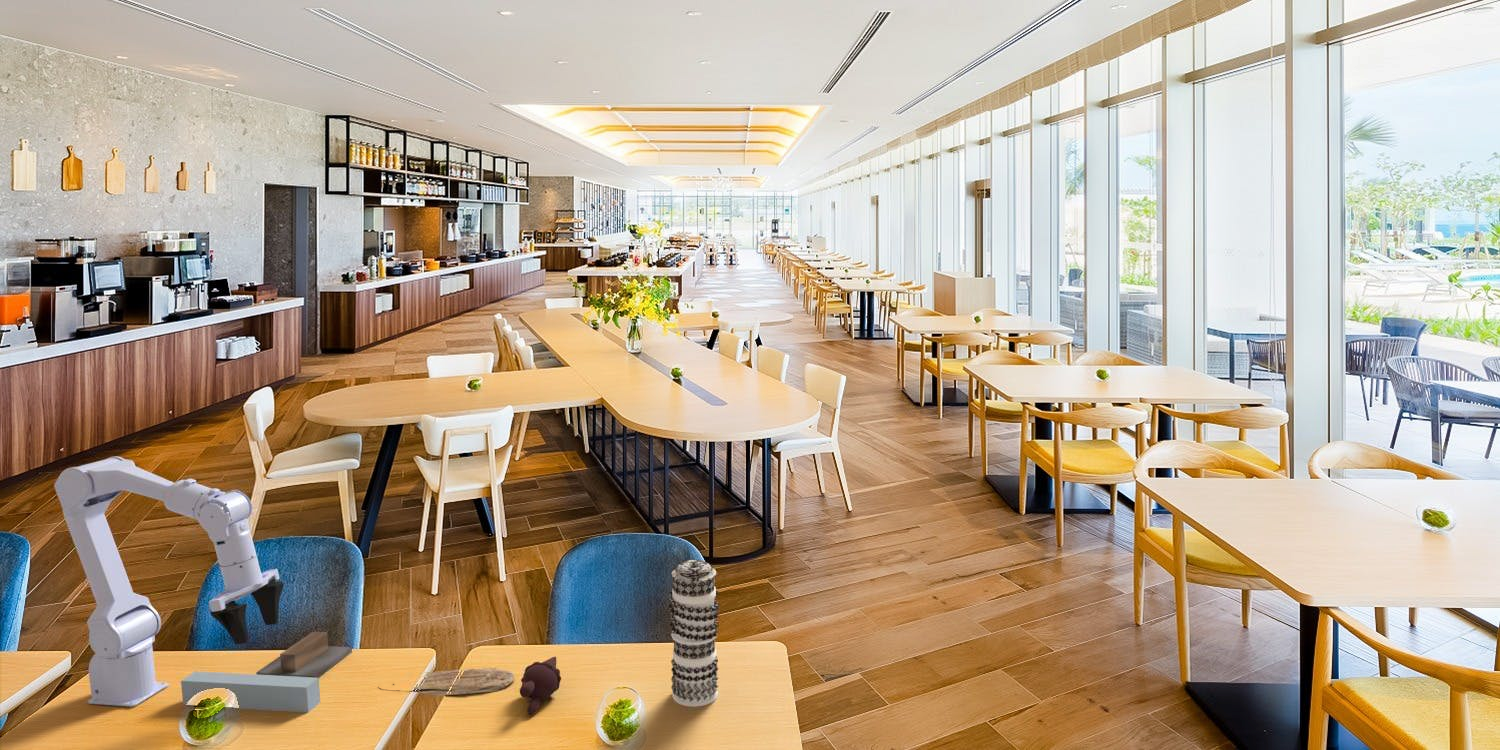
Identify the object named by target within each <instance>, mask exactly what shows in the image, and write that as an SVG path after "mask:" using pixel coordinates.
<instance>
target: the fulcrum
mask: <svg viewBox="0 0 1500 750" xmlns="http://www.w3.org/2000/svg"><path fill="white" fill-rule="evenodd" d="M328 641H329V640H328V632H326V631H312V632H310V633H308V635H306V636H304V637H303V638H302V639H300V640H298V641H297V642H296V643H294V644H292V645H291V646H289V648H286V649H285V650H284V651H282V652H281V653H280V654H279V656H278V657H277V658H275V659H274V660H272V661H271V662H269V663H268V664H266V665H265V666H264V667H262V668H261V669H259V670H258V671H257V672H256V675H275V676H294V677H313V678H319V679H320V677H321V676H323V675H325V674H326V673H327V672H328V671H330V670H331V669H332V668H333V667H335V666H336V665H338V664H339V663H340V662H342V660H344V659H345V658H346V657H348V656H349V655H351V654H352V653H353V649H352V648H353V647H349V646H334V645H329V642H328ZM329 669H330V670H329ZM325 672H326V673H325Z"/></svg>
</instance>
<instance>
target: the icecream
mask: <svg viewBox="0 0 1500 750" xmlns="http://www.w3.org/2000/svg"><path fill="white" fill-rule="evenodd" d="M523 672H524V673H523V676H522V678H521V679H520V682H521V686H520V688H519V695H520V696H521V697H522V698H526V699H530V700H529V702H528V705H527V708H526V711H527V715H528V716H529V717H531V716H534V715H535V714H536V713H537V711H538V710H539V707H540V704H541V701H544V700H547V699H549V698H550V697H551V696H552V695H553V694H554V693H555V692H556V691H558V690H559V688H560V684H561V680H562V677H561V672H560V669H558V668H557V656H552V657H550V658H549V659H547V660H545V661H542V662H539V661H535V662H533V663H532V664H529V665H527V667H526V668H525V670H524V671H523Z"/></svg>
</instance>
